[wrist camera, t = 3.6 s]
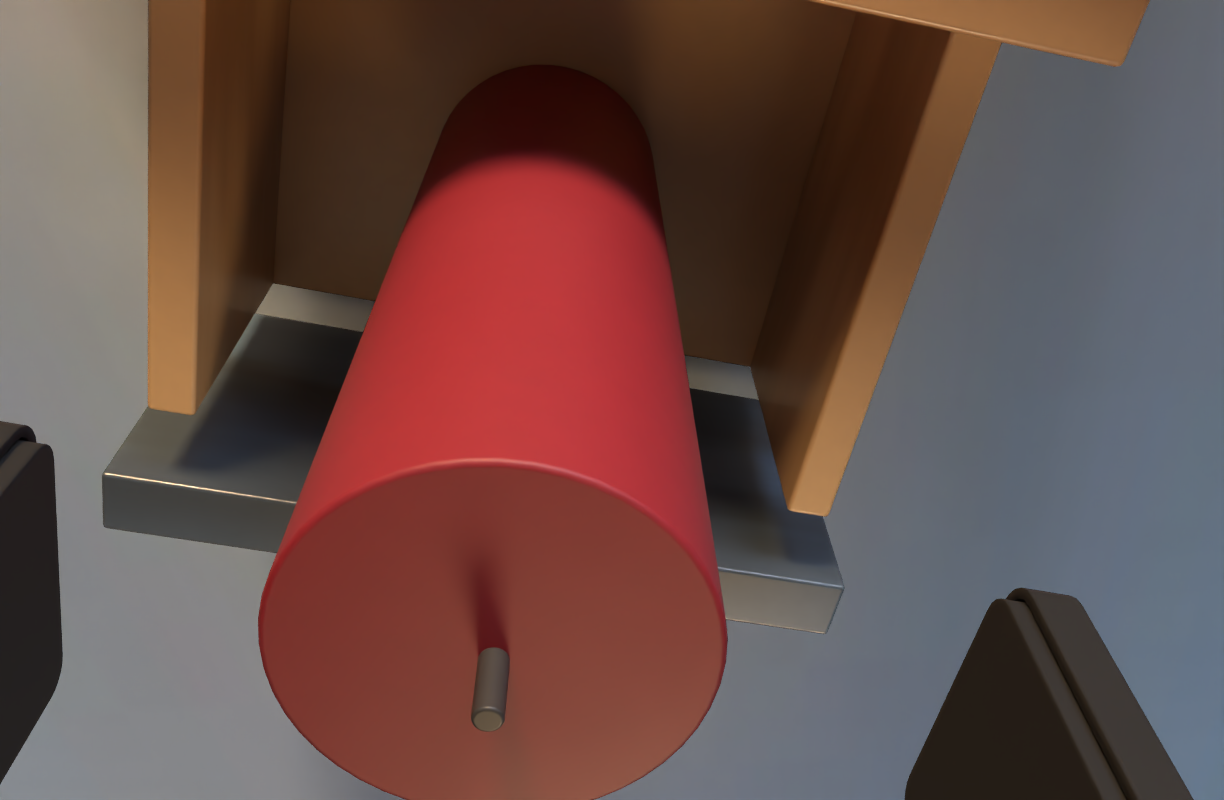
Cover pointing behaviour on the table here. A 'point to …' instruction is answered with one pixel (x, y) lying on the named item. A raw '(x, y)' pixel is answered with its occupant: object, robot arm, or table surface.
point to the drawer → (691, 210)
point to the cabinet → (1025, 22)
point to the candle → (509, 479)
